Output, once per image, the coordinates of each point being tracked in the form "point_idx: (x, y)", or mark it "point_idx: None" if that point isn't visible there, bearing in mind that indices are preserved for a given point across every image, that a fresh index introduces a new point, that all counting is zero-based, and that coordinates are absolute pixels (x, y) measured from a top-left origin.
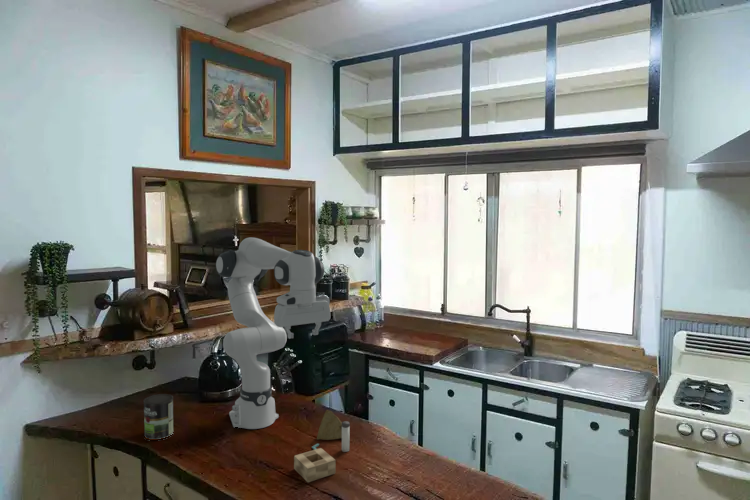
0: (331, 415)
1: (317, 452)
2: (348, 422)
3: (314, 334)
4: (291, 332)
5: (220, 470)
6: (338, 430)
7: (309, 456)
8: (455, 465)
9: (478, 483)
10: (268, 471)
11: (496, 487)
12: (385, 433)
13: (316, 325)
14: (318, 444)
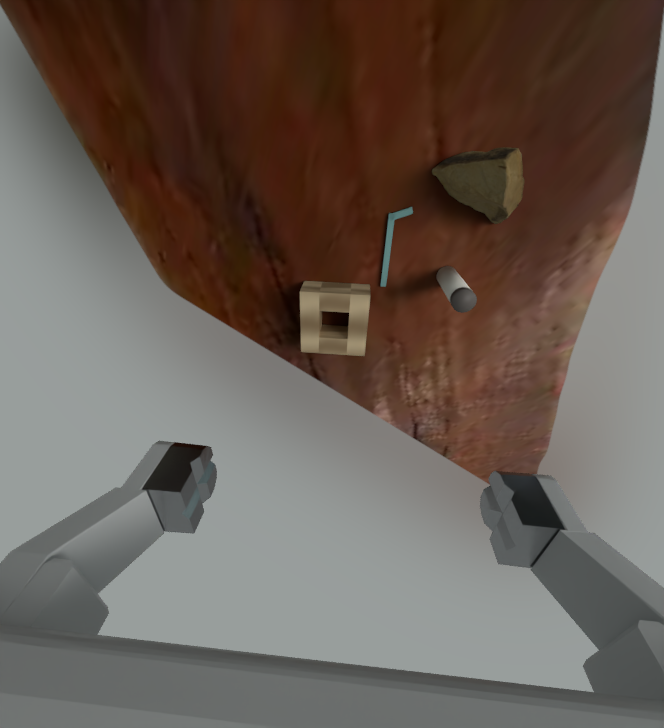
0: (497, 189)
1: (351, 309)
2: (471, 304)
3: (481, 510)
4: (178, 495)
5: (151, 183)
6: (490, 207)
7: (328, 310)
8: (544, 434)
9: None
10: (252, 257)
11: None
12: (595, 261)
13: (627, 602)
14: (409, 214)
